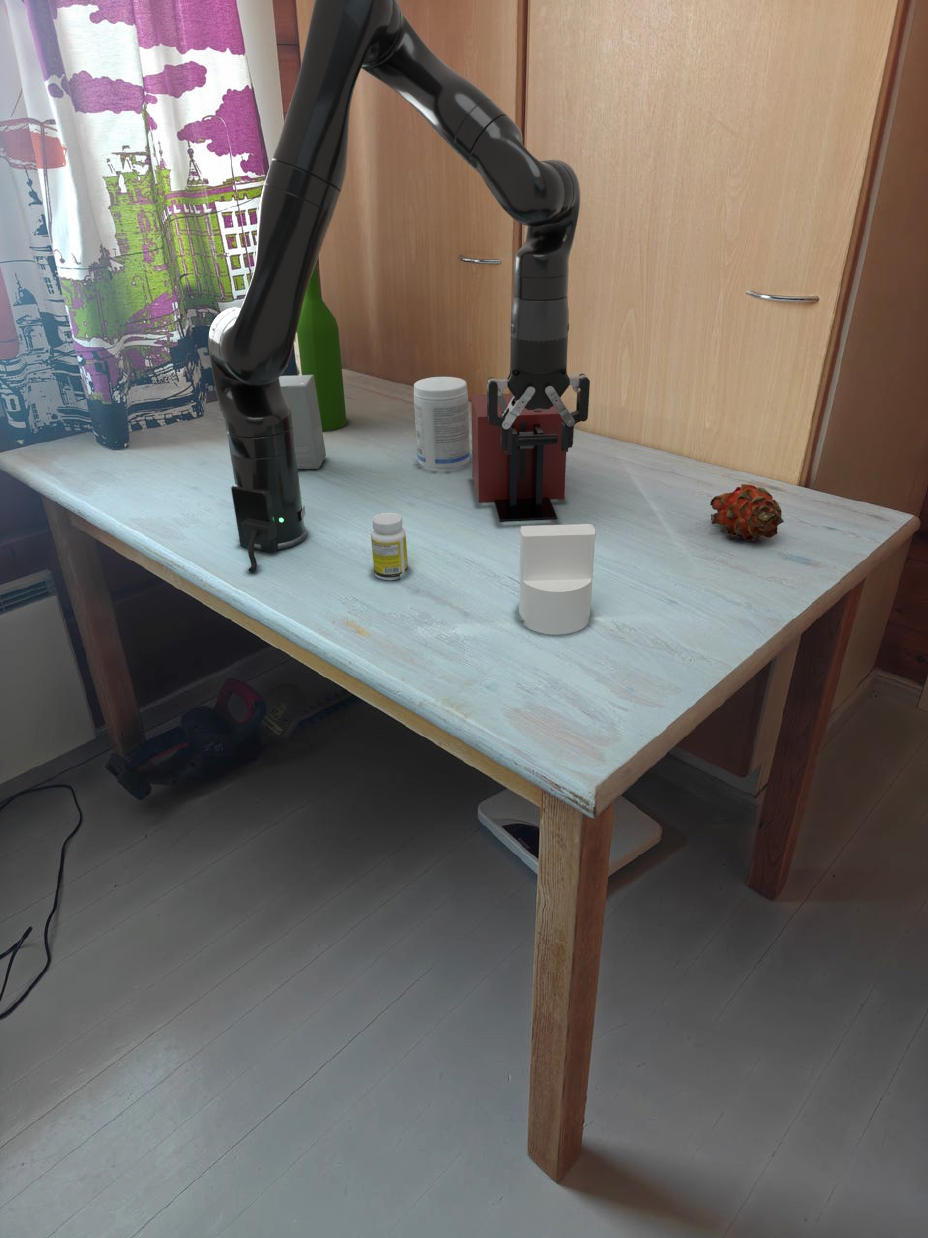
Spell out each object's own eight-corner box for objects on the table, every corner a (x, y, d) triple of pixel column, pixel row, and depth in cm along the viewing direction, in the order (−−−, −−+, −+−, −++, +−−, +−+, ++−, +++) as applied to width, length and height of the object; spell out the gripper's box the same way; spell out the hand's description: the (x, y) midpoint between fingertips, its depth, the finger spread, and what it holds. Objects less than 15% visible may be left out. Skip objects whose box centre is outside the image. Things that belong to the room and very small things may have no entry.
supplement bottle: (390, 562, 125) (387, 508, 121) (415, 571, 123) (412, 516, 119) (366, 574, 122) (362, 519, 118) (391, 584, 120) (387, 528, 115)
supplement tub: (477, 458, 162) (477, 378, 155) (457, 475, 155) (455, 392, 147) (430, 452, 165) (427, 373, 158) (408, 468, 158) (403, 387, 151)
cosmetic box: (326, 458, 163) (318, 373, 155) (317, 472, 157) (307, 384, 149) (282, 457, 164) (271, 372, 156) (271, 471, 158) (259, 383, 150)
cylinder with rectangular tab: (584, 598, 115) (589, 514, 109) (595, 633, 108) (601, 545, 102) (515, 600, 115) (517, 516, 109) (522, 635, 107) (523, 547, 101)
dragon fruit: (774, 562, 127) (708, 545, 136) (805, 517, 128) (738, 503, 138) (754, 525, 122) (686, 510, 131) (786, 479, 123) (717, 467, 132)
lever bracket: (557, 524, 136) (560, 438, 129) (499, 526, 135) (499, 440, 128) (547, 499, 145) (549, 417, 138) (492, 501, 144) (492, 419, 137)
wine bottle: (300, 420, 184) (281, 253, 167) (342, 415, 186) (327, 250, 169) (306, 433, 176) (287, 260, 160) (350, 428, 179) (335, 257, 162)
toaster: (564, 503, 143) (568, 412, 135) (478, 507, 142) (477, 416, 134) (552, 476, 153) (555, 391, 146) (472, 480, 152) (471, 394, 145)
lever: (558, 448, 122) (557, 430, 121) (518, 449, 122) (517, 431, 121) (542, 447, 136) (541, 431, 135) (506, 448, 135) (505, 432, 135)
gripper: (587, 323, 119) (581, 440, 127) (482, 327, 118) (483, 444, 126) (599, 336, 112) (591, 458, 121) (488, 340, 112) (488, 463, 120)
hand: (536, 451), depth 123 cm, fingers open, 7 cm apart
